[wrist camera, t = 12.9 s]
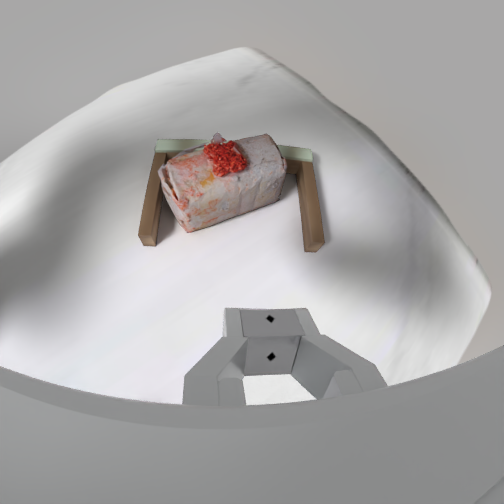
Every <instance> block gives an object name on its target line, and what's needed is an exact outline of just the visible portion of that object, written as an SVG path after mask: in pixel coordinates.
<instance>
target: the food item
mask: <svg viewBox="0 0 504 504" xmlns="http://www.w3.org/2000/svg"><path fill="white" fill-rule="evenodd" d="M217 134H218V135H217ZM213 140H214V142H213ZM210 142H211V144H210V143H209V142H206V143H203V144H200V145H196V146H193V147H190V148H187V149H185V150H183V151H182V152H180V153H179V154H178V155H176V156H175V157H173V158H172V159H169V161H168V162H167V164H164V163H163V165H162V166H161V167H160V168H159V170H158V174H159V177H160V179H161V183H162V185H161V186H162V189H163V193H164V195H165V197H166V200H167V202H168V204H169V206H170V208H171V209H172V211H173V213H174V215H175V217H176V219H177V220H178V222H179V224H180V225H181V226H182V227H183V229H184V230H185V231H186V232H187V233H190V232H193V231H196V230H199V229H202V228H206V227H209V226H211V225H214V224H216V223H219V222H222V221H224V220H226V219H229V218H232V217H234V216H238V215H241V214H244V213H247V212H249V211H252V210H255V209H257V208H259V207H262V206H265V205H268V204H271V203H273V202H276V201H278V200H279V199H278V196H279V195H280V194H281V190H282V187H283V183H284V180H285V176H286V169H287V163H286V159H285V158H284V157H283V156H282V154H281V152H280V150H279V148H278V146H277V144H276V143H275V142H274V141H273V139H272V138H271V137H270V136H269V135H268V134H264V135H260V136H255V137H248V138H244V139H240V140H235V141H231V140H230V141H229V142H228V143H223V142H226V140H225V139H224V138H221V135H220V134H219V133H218V132H217V133H216V134H215V135H214V136H213V139H212V140H211V141H210ZM207 143H209V144H208V145H207V146H206V145H205V144H207ZM220 143H222V144H220ZM203 147H204V149H203V150H199V151H195V152H193V151H194V150H195V149H197V148H203Z"/></svg>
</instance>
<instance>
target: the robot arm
mask: <svg viewBox="0 0 504 504" xmlns="http://www.w3.org/2000/svg"><path fill="white" fill-rule="evenodd" d="M278 374H291V376H292V377H294V378H295V379H296V380H297V381H298V382H299V383H300V384H301V385H302V386H303V387H304V388H305V389H306V390H307V391H308V392H309V393H311V394H312V395H313V396H314V397H315V398H316V399H317V400H310V401H301V402H291V403H280V404H265V405H246V400H245V394H244V387H243V381H242V379H243V378H244V376H255V375H278ZM0 504H504V345H503V346H501V347H499V348H497V349H495V350H493V351H490V352H488V353H486V354H484V355H481V356H479V357H477V358H474V359H472V360H469V361H467V362H464V363H462V364H459V365H456V366H453V367H451V368H448V369H445V370H442V371H439V372H436V373H433V374H430V375H427V376H424V377H420V378H417V379H414V380H410V381H407V382H403V383H399V384H396V385H392V386H387V384H386V382H385V381H384V379H383V377H382V376H381V374H380V372H379V371H378V369H377V367H376V366H375V364H373V363H371V362H369V361H368V360H366V359H364V358H363V357H361V356H359V355H358V354H356V353H354V352H352V351H351V350H349V349H347V348H346V347H344V346H342V345H341V344H339V343H337V342H336V341H334V340H332V339H331V338H329V337H327V336H326V335H320V333H319V331H318V329H317V327H316V325H315V323H314V321H313V319H312V317H311V315H310V313H309V311H308V309H306V308H294V309H250V308H225V309H224V320H223V337H222V338H221V339H220V340H219V341H218V342H217V343H216V344H215V345H214V346H213V347H212V348H211V349H210V350H209V351H208V352H207V353H206V354H205V355H204V356H203V357H202V358H201V359H200V360H199V361H198V362H197V363H196V364H195V365H194V366H193V368H192V369H191V370H190V371H189V372H188V373H187V374H186V375H185V377H184V390H183V403H182V404H168V403H157V402H148V401H139V400H132V399H125V398H118V397H112V396H106V395H101V394H95V393H90V392H86V391H81V390H77V389H72V388H68V387H64V386H60V385H57V384H53V383H49V382H46V381H43V380H39V379H36V378H33V377H30V376H27V375H24V374H21V373H18V372H15V371H12V370H10V369H7V368H4V367H2V366H0Z"/></svg>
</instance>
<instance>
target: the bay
mask: <svg viewBox="0 0 504 504" xmlns="http://www.w3.org/2000/svg"><path fill="white" fill-rule="evenodd" d="M210 141H211V140H193V139H158V140H157V143H156V147H155V155H154V159H153V164H152V168H151V172H150V176H149V181H148V185H147V190H146V195H145V200H144V205H143V210H142V215H141V221H140V227H139V233H138V236H139V238H140V240H141V242H142V243H143V245H144V246H156V240H157V233H158V225H159V219H160V212H161V206H162V199H163V194H164V193H163V189H162V186H161V185H162V183H161V179H160V177H159V174H158V170H159V168H160V167H161V166H162V165H163V163H164V164H167V162H168V161H169V159H172V158H173V157H175V156H176V155H178V154H179V153H180V152H182V151H183V150H185V149H187V148H190V147H193V146H196V145H200V144H203V143H206V142H209V143H210V144H211V142H210ZM213 142H214V140H213ZM228 142H229V141H226V142H223V143H228ZM209 143H207V144H205V145H206V146H207V145H208V144H209ZM220 144H222V143H220ZM277 146H278V148H279V150H280V152H281V154H282V156H283V157H284V158H285V159H286V163H287V169H286V173H291V174H296V179H297V187H298V195H299V203H300V212H301V221H302V230H303V240H304V251H305V252H317V251H318V249H319V248H320V247H321V246H322V245H323V244H324V243H325V241H324V234H323V226H322V219H321V212H320V206H319V199H318V193H317V187H316V181H315V175H314V170H313V164H312V161H313V156H312V151H311V149H305V148H298V147H290V146H282V145H277ZM203 149H204V147H203V148H197V149H195V150H194V151H193V152H195V151H199V150H203Z"/></svg>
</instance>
